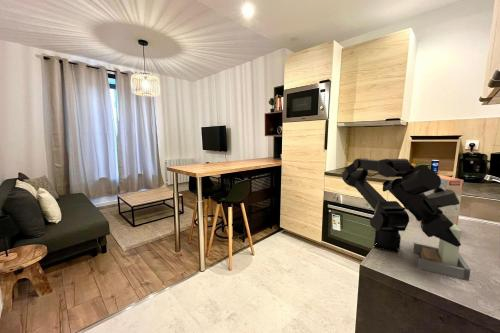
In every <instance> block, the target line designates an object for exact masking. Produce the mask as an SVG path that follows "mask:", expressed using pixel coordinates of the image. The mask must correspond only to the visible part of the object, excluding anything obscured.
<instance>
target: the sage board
mask: <svg viewBox="0 0 500 333" xmlns="http://www.w3.org/2000/svg"><path fill="white" fill-rule="evenodd" d="M450 230H451V231H452V233H453V234H454V235H455V237H456V238H457V239H458V241H459V242H460V243H461V239H462V237H461V236H462V230H461V229H460V227H459V225H458V226H457V225H456V224H454V225H453V226H452V227H450ZM438 239H439V238H438ZM437 248H438V256H439V258H440V260H441V263H443V264H448V265H452V266H456V267H457V261H458V254H460V246H458V247H456V246H454V245H452V244H450V243H448V242H446V241H444V240H441V239H439V242H438V247H437Z"/></svg>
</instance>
